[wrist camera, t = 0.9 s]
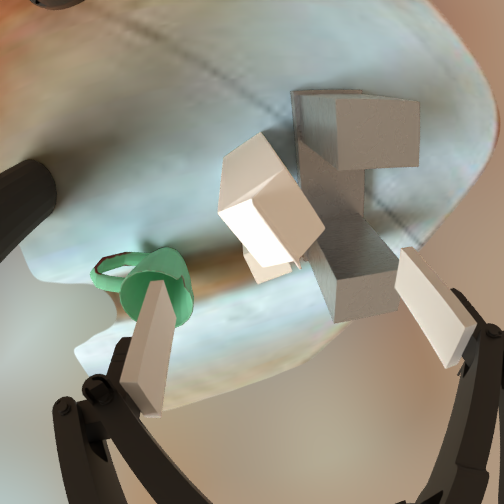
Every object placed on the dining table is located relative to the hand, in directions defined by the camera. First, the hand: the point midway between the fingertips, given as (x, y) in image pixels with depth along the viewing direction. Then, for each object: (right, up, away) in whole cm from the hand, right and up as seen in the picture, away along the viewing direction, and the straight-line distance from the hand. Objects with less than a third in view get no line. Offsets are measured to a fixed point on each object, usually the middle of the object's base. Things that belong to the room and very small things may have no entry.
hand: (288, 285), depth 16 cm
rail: (+9, +12, +24) cm, 29 cm away
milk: (-2, +14, +23) cm, 27 cm away
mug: (-17, +1, +29) cm, 34 cm away
